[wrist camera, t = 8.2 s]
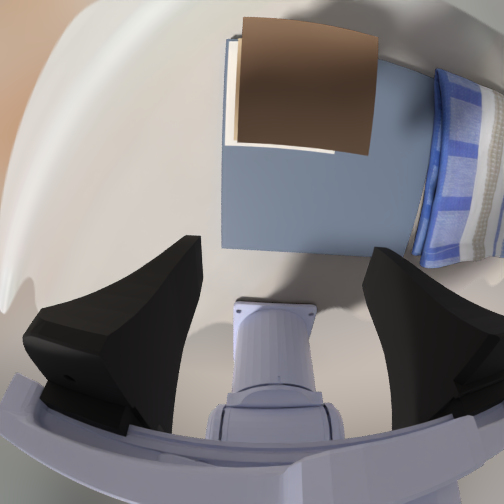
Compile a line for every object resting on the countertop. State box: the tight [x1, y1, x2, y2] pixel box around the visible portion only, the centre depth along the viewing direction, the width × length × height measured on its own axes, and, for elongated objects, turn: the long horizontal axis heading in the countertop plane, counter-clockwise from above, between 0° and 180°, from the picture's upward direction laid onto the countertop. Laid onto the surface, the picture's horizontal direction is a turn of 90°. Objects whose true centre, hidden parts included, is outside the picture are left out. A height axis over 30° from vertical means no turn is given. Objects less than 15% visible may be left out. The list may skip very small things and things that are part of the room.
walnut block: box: [237, 17, 378, 156], centre depth 9 cm, size 4×4×5 cm
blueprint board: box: [221, 39, 435, 257], centre depth 18 cm, size 16×16×1 cm
